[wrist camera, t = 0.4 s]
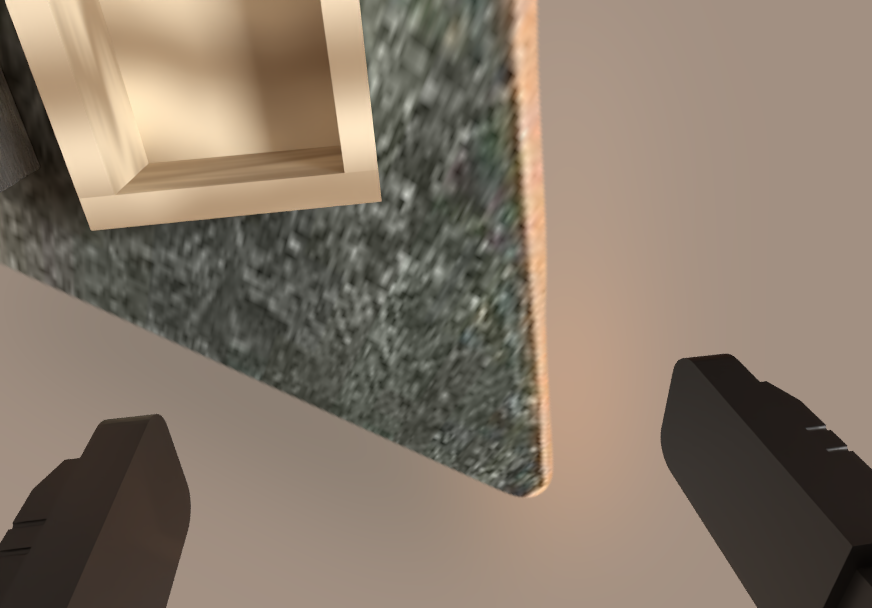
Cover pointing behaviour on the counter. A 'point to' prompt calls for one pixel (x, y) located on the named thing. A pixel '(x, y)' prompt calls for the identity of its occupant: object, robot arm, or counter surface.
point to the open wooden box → (204, 105)
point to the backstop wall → (13, 142)
